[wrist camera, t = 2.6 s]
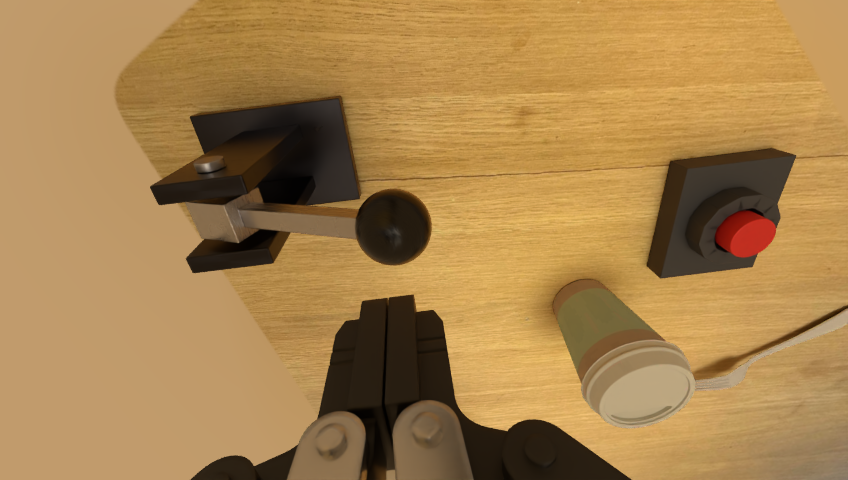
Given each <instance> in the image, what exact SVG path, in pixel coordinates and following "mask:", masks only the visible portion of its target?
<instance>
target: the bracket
mask: <svg viewBox="0 0 848 480" xmlns="http://www.w3.org/2000/svg"><path fill="white" fill-rule="evenodd" d="M190 119H191V122H192V124H193V127H194V129H195V132H196V134H197V136H198V139H199V141H200V144H201V146H202V149H203V151H204V155H202V156H201V157H199V158H197V159H195V160H194V161H192V162H190V163H189V164H187V165H185V166H184V167H182V168H180V169H179V170H177V171H175V172H174V173H172V174H170V175H169V176H167V177H165V178H164V179H162V180H160V181H159V182H157V183H155V184H154V185H152V186H150V188H151V190H152V193H153V195H154V197H155V199H156V201H157V202H158V204H159V205H165V204H174V203H182V202H190V201H198V200H206V199H214V198H222V197H230V196H238V195H246V194H249V193H250V192H251V191H252V190H253V189H254V188H255V187H258V188H259V191H260V194H261V197H262V200H263V203H275V204H290V205H304V206H307V205H315V204H323V203H331V202H339V201H347V200H355V199H360V196H361V190H360V185H359V181H358V176H357V171H356V166H355V161H354V156H353V151H352V146H351V142H350V137H349V132H348V127H347V122H346V117H345V112H344V107H343V103H342V98H341V96H336V97H328V98H320V99H312V100H303V101H295V102H287V103H279V104H271V105H263V106H255V107H247V108H239V109H231V110H223V111H215V112H207V113H199V114H195V115H192V116H190ZM290 233H291V232H283V231H274V230H264V229H260V230H259V231H257V232H255V233H254V234H252V235H251V236H249V237H248V238H246V239H245V240H243V241H242V242H240V243H233V242H226V241H218V240H210V239H204V240H203V241H202V242H201V243H200V244H199V245H198V246H197V247H196V248H195V249H194V250H193V252H192V253H190V254H189V256H188V257H187V258H186V260H187V262H188V264H189V266H190V268H191V270H192V272H193V273H200V272H207V271H215V270H224V269H232V268H240V267H248V266H256V265H264V264H272V263H274V261H275V260H276V258H277V256H278V254H279V252H280V251H281V249H282V247H283V245H284V243H285V242H286V240H287V238H288V236H289V234H290Z"/></svg>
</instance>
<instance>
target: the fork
mask: <svg viewBox="0 0 848 480" xmlns="http://www.w3.org/2000/svg"><path fill="white" fill-rule="evenodd" d="M846 324H848V308H847V309H845V310H844V311H842V312H840V313H839V314H837V315H835V316H833V317H832V318H830V319H828V320H826V321H824V322H822V323H821V324H819V325H817V326H815V327H813V328H811V329H809V330H807V331H805V332H803V333H801V334H799V335H797V336H795V337H793V338H791V339H789V340H787V341H785V342H782V343H780V344H778V345H776V346H774V347H771V348H769V349H767V350H765V351H763V352H761V353H759V354H757V355H755V356H754V357H752V358H750V359H749V360H748V361H747V362H746V363H745V364H743V365H740V366H739V367H738V368H736V369H735V370H734V371H732V372H731V373H729V374H727V375H725V376H720V377H715V378H710V379H701V380H695V385H698V386H695V391H704V390H720V389H727V388H732V387H734V386H736V385H738V384H739V383H740V382H741V381H742V380H743V379H744V377H745V375H746V371H747V369H748V367H749V366H750V365H751V364H752V363H753V362H755V361H757V360H759V359H761V358H763V357H765V356H767V355H770V354H772V353H774V352H777V351H779V350H782V349H784V348H787V347H790V346H793V345H795V344H798V343H801V342H804V341H807V340H810V339H812V338H815V337H818V336H821V335H824V334H827V333H829V332H832V331H834V330H837V329H839V328H841V327H843V326H845V325H846ZM712 381H713V382H712ZM697 382H703V383H697ZM709 384H711V385H709ZM703 387H709V388H703Z"/></svg>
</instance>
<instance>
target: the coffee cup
mask: <svg viewBox="0 0 848 480" xmlns="http://www.w3.org/2000/svg"><path fill="white" fill-rule="evenodd" d="M553 310H554V313H555V316H556V319H557V321H558V324H559V327H560V329H561V332H562V334H563V337H564V340H565V342H566V345H567V347H568V350H569V353H570V355H571V358H572V360H573V363H574V366H575V368H576V371H577V373H578V376H579V379H580V381H581V384H582V386H581V391H582V395H583V398H584V399H585V401H586V402H587V403H588V404H589V406H590V407H591V408H592V409H593V410H594V411H595V412H596V413H598V414H599V415H600V416H601V417H602V418H603V419H604V420H605V421H606V422H607V423H609V424H611V425H613V426H616V427H621V428H640V427H645V426H650V425H653V424H656V423H659V422H661V421H663V420H665V419H667V418H669V417H671V416H673V415H674V414H676V413H677V412H678V411H680V410H681V409H682V408H683V407H684V406H685V405H686V404H687V403H688V402H689V400H690V399H691V397H692V396H693V394H694V391H695V379H694V376H693V374H692V372H691V369H690V364H689V362H688V360H687V358H686V357H685V355H684V353H683V352H682V350H681V349H680V348H678V347H677V346H676V345H674V344H672V343H669V342H666V341H665V340H664V339H663V338H662V337H661V336H660V335H659V334H657V333H656V332H655V331H654V330H653V329H652V328H651V327H650V326H649V325H647V324H646V323H645V322H644V321H643V320H642V319H641V318H640V317H639V316H637V315H636V314H635V313H634V312H633V311H632V310H631V309H630V308H628V307H627V306H626V305H625V304H624V303H623V302H622V301H621V300H620V299H618V298H617V297H616V296H615V295H614V294H613V293H612V292H611V291H609V290H608V289H607V288H606V287H605V286H604V285H603V284H601V283H600V282H598V281H595V280H590V279H584V280H578V281H575V282H572V283H570V284H568V285H567V286H565V287H564V288H563V289H562V290H561V291H560V292H559V293H558V294H557V296H556V297H555V300H554V303H553Z"/></svg>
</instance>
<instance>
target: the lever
mask: <svg viewBox="0 0 848 480" xmlns="http://www.w3.org/2000/svg"><path fill="white" fill-rule="evenodd" d="M185 203H186V206H187V208H188V210H189V212H190V214H191V216H192V219H193V221H194V223H195V225H196V227H197V229H198V232H199V234H200V236H201V238H202V239H210V240H218V241H226V242H233V243H240V242H242V241H243V240H245V239H246V238H248V237H249V236H251V235H252V234H254V233H255V232H257V231H259V230H260V229H264V230H274V231H283V232H293V233H302V234H312V235H321V236H331V237H341V238H350V239H357V241H358V243H359V245H360V247H361V249H362V250H363V251H364V253H365V254H366V255H367V256H369V257H370V258H371V259H373V260H374V261H376V262H379V263H381V264H385V265H402V264H405V263H408V262H410V261H412V260H414V259H415V258H417V257H418V256H419V255H420V254H421V253H422V252H423V251H424V250H425V248H426V246H427V245H428V242H429V240H430V236H431V230H432V223H431V218H430V215H429V212H428V210H427V208H426V206H425V205H424V204H423V202H422V201H421V200H420V199H419V198H417V197H416V196H415V195H413V194H412V193H410V192H407V191H405V190H400V189H386V190H382V191H379V192H377V193H375V194H373V195H371V196H370V197H369V198H368V199H367V200H366V201H365V202H364V203H363V204H362V206H361V207H360V209H347V208H332V207H318V206H304V205H290V204H275V203H263V200H262V197H261V194H260V191H259V188H258V187H255V188H254V189H253V190H252V191H251V192H250V193H249V194H246V195H238V196H230V197H222V198H214V199H206V200H198V201H190V202H185Z"/></svg>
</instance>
